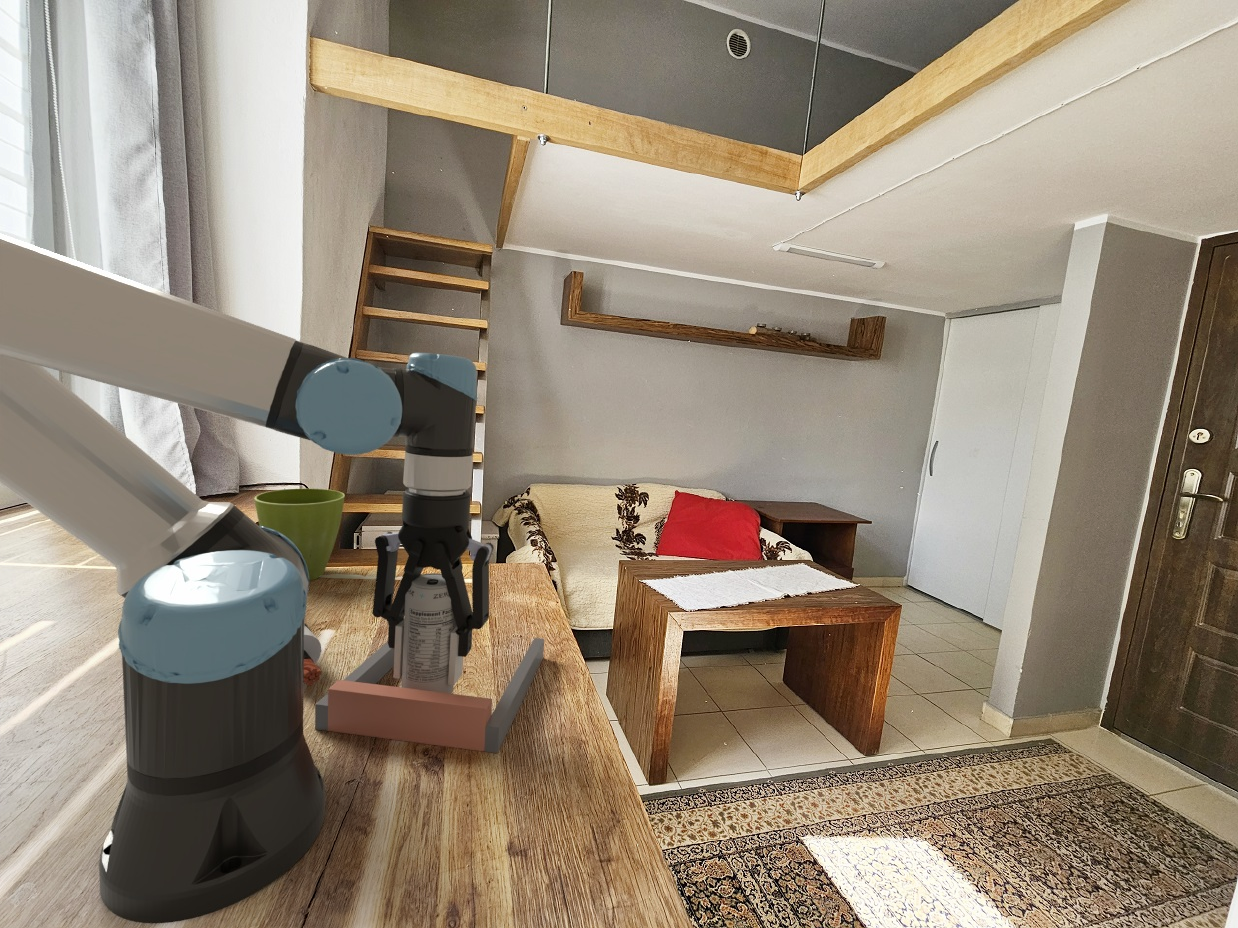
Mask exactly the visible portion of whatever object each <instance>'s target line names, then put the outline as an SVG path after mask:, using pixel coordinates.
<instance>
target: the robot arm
mask: <svg viewBox="0 0 1238 928" xmlns="http://www.w3.org/2000/svg"><path fill="white" fill-rule="evenodd" d="M45 368H47V369H52V370H53V371H59V372H61V373H62V372H63V373H66V374H69V375H73V376H76V377H81V378H85V379H88V380H91V381H94V382H95V381H96V382H98V383H103V384H106V385H110V386H113V387H117V388H121V389H125V390H127V391H131V392H136V393H139V394H142V395H147V396H150V397H154V398H157V399H161V400H164V401H168V402H171V403H175V404H179V405H183V406H185V407H189V408H194V409H198V410H201V411H204V412H208V413H212V414H215V415H219V416H222V417H223V416H224V417H226V418H230V419H234V420H236V421H237V420H238V421H242V422H245V423H249V424H252V425H256V426H259V427H263V428H267V429H270V430H274V431H276V432H277V433H282V434H286V435H289V436H293V437H296V438H300V439H304V440H307V441H311V442H312V443H314V444H315V445H317V446H319V447H320V448H321V449H324V450H325V451H326V450H327V451H328V452H331V453H336V454H339V455H344V456H345V455H347V456H355V455H356V456H357V455H359V456H360V455H365V454H370V453H371V452H374V451H376V450H378V449H380V448H382V447H383V446H384V445H386V444H388V442H390V440H391V439H392V438H393V437H394V438H397V437H404V440H405V445H404V467H403V480H402V483H403V485H404V486H405V487H406V489H405V491H404V492H403V493H402V507H401V511H402V513H401V518H402V524H401V528H400V529H399V531H398V532H392V531H388V532H386V533H383V534H381V535H379V536H377V537H375V539H374V544H375V548H376V552H377V556H378V557H377V564H376V565H377V567H376V576H375V585H374V595H373V604H372V615H373V616H374V617H375V618H381V619H385V620H386V621H387V624H388V631H387V632H388V633H387V635H388V636H387V639H388V640H387V642H388V645H389V648H395V651H394V667H393V677H392V678H393V679H398V680H399V679H400V678H401V679H402V661H403V639H404V616H405V595H406V593H407V592H408V590H409V588H410V587H411V585H412V581H414V580H415V579H416V578H418V577H419V576H420V575H422V572H423V570H424V569H426V568H432V569H436V570H437V571H438V570H439V571H440V574H442V577H443V578H444V579H445V582H446V586H447V590H448V594H449V597H450V599H451V605H452V609H453V613H454V617H455V621H456V625H457V626H456V628H455V629H454V630H453V631H452V632H451V638H450V656H449V675H448V685H453V686H455V685H456V684H457V682H458V681H459V679H460V678H461V677H462V675H463V671H464V670H463V668H464V658H466V657H467V656H468V654H469V653H470V652H471V650H472V645H473V644H472V643H473V630H481V629H482V628H483V627H484V626H485V624H486V623H487V622H488V620H489V618H490V559H491V556H492V554H493V552H494V545H493V543H492V542H485V543H483V542H481V541H477V540H475V539H473V536H472V534H471V531H470V527H469V525H470V516H471V499H472V497H471V496H472V495H471V493H470V492H469V491H468V489H469V488H471V487H472V477H473V460H474V455H473V454H474V452H473V451H474V436H475V435H474V434H475V425H476V424H475V423H476V414H477V413H476V410H477V402H478V397H477V396H478V392H477V391H478V390H477V389H478V388H477V387H478V386H477V384H478V383H477V382H478V380H477V377H478V376H477V373H478V372H477V366H476V365H475V363H474V362H473V361H472V360H471V359H470V358H467V357H464V356H463V357H462V356H456V355H451V354H450V355H449V354H442V353H441V354H439V353H430V352H413V353H411V354H410V355H409V358H408V363H407V364H406V368H397V367H395V368H394V367H393V368H388V367H381V366H378V365H375V364H372V363H370V362H367V361H364V360H362V359H358V358H354V357H353V358H351V357H346V356H344V355H340V354H337V353H335V352H332V351H329V350H326V349H324V348H320V347H317V346H315V345H313V344H308V343H306V342H302V341H299V340H297V339H295V338H293V337H290V336H288V335H286V334H285V335H284V334H282V333H279V332H276V331H274V330H272V329H271V330H270V329H267V328H265V327H263V326H259V325H258V324H257V325H256V324H254V323H251V322H248V321H245V320H242V319H240V318H237V317H234V316H231V315H229V314H226V313H223V312H220V311H217V310H215V309H212V308H209V307H206V306H203V305H200V304H198V303H195V302H193V301H189V300H186V299H184V298H181V297H178V296H176V295H173V294H169V293H167V292H164V291H162V290H159V289H155V288H153V287H150V286H147V285H144V284H142V283H140V282H136V281H134V280H131V279H127V278H125V277H123V276H119V275H117V274H113V273H111V272H108V271H105V270H102V269H100V268H97V267H95V266H94V267H93V266H91V265H88V264H85V263H84V262H80V261H77V260H74V259H72V258H69V257H66V256H64V255H60V254H58V253H54V252H52V251H50V250H47V249H44V248H40V247H38V246H35V245H33V244H30V243H27V242H24V241H22V240H18V239H15V238H13V237H11V236H7V235H4V234H2V233H0V485H2V486H3V487H5V488H6V489H7V490H9V491H10V492H11V493H13V494H14V495H16V496H17V497H18V498H20V499H21V500H23V501H24V502H26V504H29V505H30V506H31V507H32V508H34V509H35V510H36V511H38V512H39V513H41V514H42V515H43V516H45V517H47V518H48V519H49V520H51V521H52V522H53V523H55V524H56V525H57V526H59V527H61V528H62V529H63V530H64V531H66V532H67V533H68V534H70V535H71V536H72V537H74V538H76V539H77V540H79V541H80V542H81V543H83V544H84V545H85V546H87V547H88V548H90V549H91V550H92V551H93V552H95V553H96V554H98V555H99V556H100V557H102V558H103V559H105V560H106V561H107V562H109V564H112V566H114V567H115V569H116V571H117V576H116V577H117V579H116V580H117V581H116V583H117V584H116V593H117V594H118V595H120V596H121V597H122V598H123V599H124V600H123V604H122V609H121V619H120V622H119V623H118V624H119V625H118V629H117V635H118V649H119V651H120V652H121V662H122V663H121V666H122V686H123V708H124V709H123V710H124V728H125V729H124V731H125V750H126V751H125V753H126V772H127V773H126V774H127V777H126V778H127V782H126V783H125V784H126V785H125V787H124V790H123V792H122V795H121V797H120V800H119V802H118V804H117V808H116V811H115V814H114V815H113V816H114V817H113V819H112V824H111V828H110V830H109V832H108V833H107V836H106V838H105V840H104V843H103V845H102V848H101V850H100V851H101V852H100V855H99V862H98V869H99V871H98V875H99V876H98V877H99V892H100V898H101V900H102V902H103V904H104V906H105V907H106V908H107V910H109V911H110V912H111V913H112V914H114V915H115V916H117V917H119V918H121V919H124V920H126V921H130V922H136V923H142V924H166V923H167V924H168V923H170V924H171V923H176V922H182V921H183V922H184V921H187V920H188V921H189V920H191V919H196V918H199V917H202V916H206V915H210V914H212V913H215V912H219V911H221V910H223V909H226V908H228V907H231V906H232V905H235V904H237V903H239V902H241V901H244V900H245V899H247V898H249V897H251V896H252V895H256V893H258V892H260V891H261V890H263V889H264V888H266V887H267V886H269V885H271V884H272V883H274V882H275V881H277V879H279V878H281V876H283V875H284V874H285V873H287V872H288V871H289V870H290V869H291V868H293V866H294V865H295V864H297V863H298V862H299V861H300V860H301V858H303V857H304V855H305V854H306V853H307V852H308V851H309V849H310V848H311V847H312V845H313V844H314V842H315V841H316V840H317V838H318V836H319V834H320V832H321V830H322V827H323V824H324V820H325V815H326V786H325V782H324V779H323V776H322V773H321V772H320V770H319V769H318V767H317V766H316V764H315V762H314V759H313V756H312V754H311V750H310V748H309V745H308V743H307V741H306V738H305V735H304V683H303V681H304V628H305V624H306V612H307V602H308V595H309V590H310V587H309V584H310V580H309V573H308V569H307V565H306V562H305V560H304V559H303V556H302V554H301V552H300V551H299V549H298V548H297V547H296V546H295V544H294V543H293V542H292V541H291V540H290V539H288V538H287V537H286V536H284V535H283V534H281V533H279V532H277V531H275V530H273V529H270V528H267V527H263V526H260V525H258V524H257V523H256V522H255V521H254V520H253V519H251V517H249V516H248V515H246V514H245V513H244V512H243V511H242V510H241V509H239V508H238V506H236V505H235V504H233V503H232V502H229V501H207V500H203V499H201V498H200V497H199V496H198V495H197V494H196V493H194V492H193V491H192V490H191V489H190V488H189V487H187V486H186V485H184V484H183V482H181V481H180V480H179V479H178V478H176V477H175V476H174V475H173V474H171V473H170V472H169V471H168V470H167V469H165V468H164V467H163V466H162V465H161V464H160V463H158V462H157V461H156V460H155V459H153V457H151V456H150V455H149V454H148V453H147V452H145V451H144V450H143V449H142V448H140V447H139V446H138V445H137V444H136V443H134V441H132V440H131V439H129V438H128V437H127V436H126V435H125V434H124V433H123V432H122V431H120V430H119V429H118V428H117V427H115V426H114V425H113V424H112V423H111V422H109V421H108V420H107V419H106V418H105V417H104V416H102V415H101V414H100V413H98V412H97V411H96V410H95V409H94V408H93V407H91V406H90V405H89V404H88V403H87V402H85V401H84V399H82V398H80V397H79V396H78V395H77V394H76V393H75V392H73V391H72V390H71V389H70V388H69V387H67V386H66V385H65V384H64V383H63V382H62V381H60V380H59V379H58V378H57V377H56V376H55V375H53V374H52V373H51V372H50V371H48V370H47V369H45ZM401 545H402V547H403V548H404V551H405V552H406V554H407V555H408V556H407V559H406V563H405V564H404V568H403V575H402V577H401V580H400V583H399V585H398V588H397V590H396V593H395V594H394V592H395V583H396V574H397V564H398V555H399V551H398V550H399V549H400V548H401ZM467 550H468V551H469V553H470V555H469V556H470V557H469V558H470V560H471V561H473V563H472V567H471V569H472V571H471V573H472V574H471V581H472V582H471V583H472V586H471V587H472V590H471V591H472V592H471V593H472V600H470V598H469V594H468V593H469V592H468V590H467V585H466V582H465V578H464V573H463V569H464V568H463V562H462V558H461V557H462V556H463V554H464V553H465V552H466V551H467ZM471 601H472V604H471Z"/></svg>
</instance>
